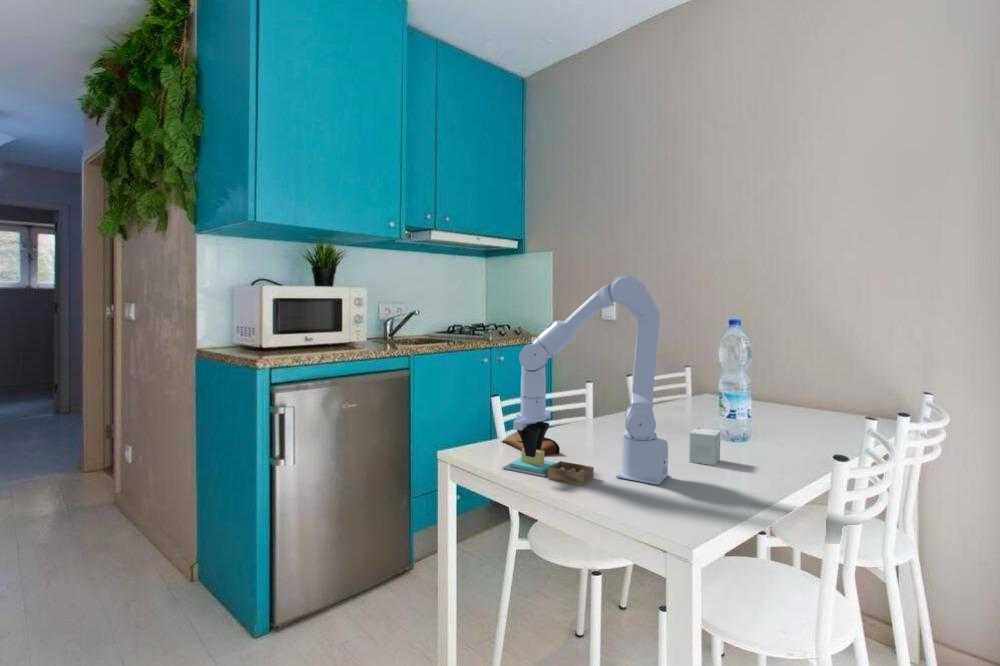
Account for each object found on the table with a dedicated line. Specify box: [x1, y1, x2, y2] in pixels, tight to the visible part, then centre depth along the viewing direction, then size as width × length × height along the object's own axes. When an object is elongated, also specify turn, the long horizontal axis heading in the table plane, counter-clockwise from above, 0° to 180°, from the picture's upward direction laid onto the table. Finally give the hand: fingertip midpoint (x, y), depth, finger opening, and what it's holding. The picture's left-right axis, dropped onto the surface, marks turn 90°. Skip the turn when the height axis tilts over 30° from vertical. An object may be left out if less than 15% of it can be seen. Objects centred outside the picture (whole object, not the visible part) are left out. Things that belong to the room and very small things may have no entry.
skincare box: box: [688, 427, 721, 467], centre depth 129 cm, size 6×6×7 cm
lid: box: [508, 448, 557, 473], centre depth 122 cm, size 9×7×4 cm
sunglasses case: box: [500, 430, 561, 457], centre depth 140 cm, size 18×7×7 cm, turn 28°
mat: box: [501, 463, 548, 478], centre depth 122 cm, size 11×9×1 cm
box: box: [547, 460, 595, 486], centre depth 115 cm, size 8×6×2 cm
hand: (532, 455), depth 122 cm, fingers closed on lid, 2 cm apart
